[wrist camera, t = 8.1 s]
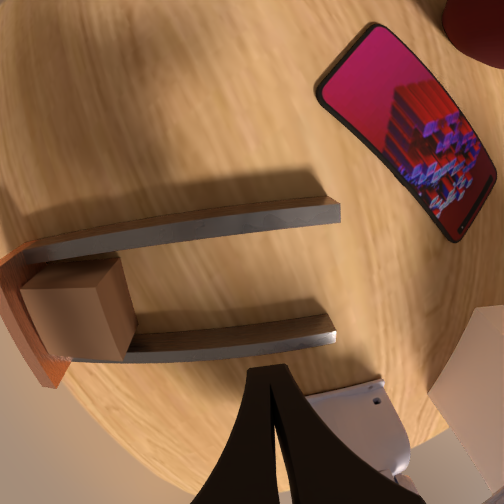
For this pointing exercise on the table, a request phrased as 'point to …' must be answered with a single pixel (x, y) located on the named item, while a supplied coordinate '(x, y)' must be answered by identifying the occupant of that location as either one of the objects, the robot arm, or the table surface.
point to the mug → (477, 29)
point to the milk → (477, 393)
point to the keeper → (82, 309)
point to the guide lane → (156, 233)
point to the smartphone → (411, 128)
